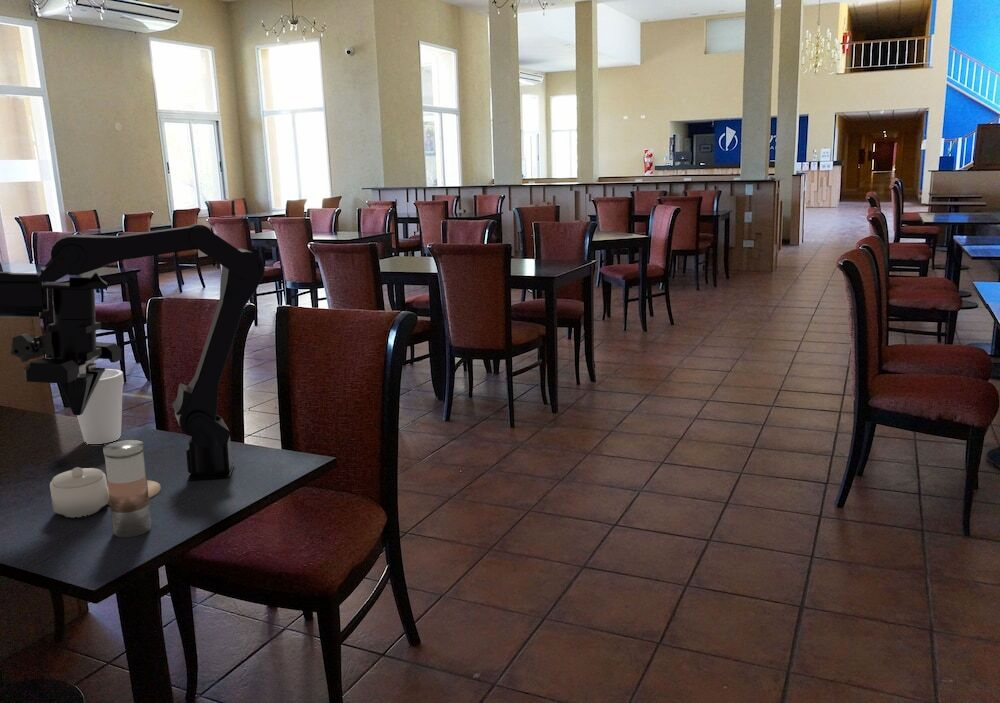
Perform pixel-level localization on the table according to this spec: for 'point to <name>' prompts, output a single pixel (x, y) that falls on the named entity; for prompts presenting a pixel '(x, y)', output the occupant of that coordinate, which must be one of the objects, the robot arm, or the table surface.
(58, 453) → the table surface
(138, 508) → the tea canister
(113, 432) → the foam cup
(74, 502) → the sugar bowl
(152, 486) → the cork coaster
